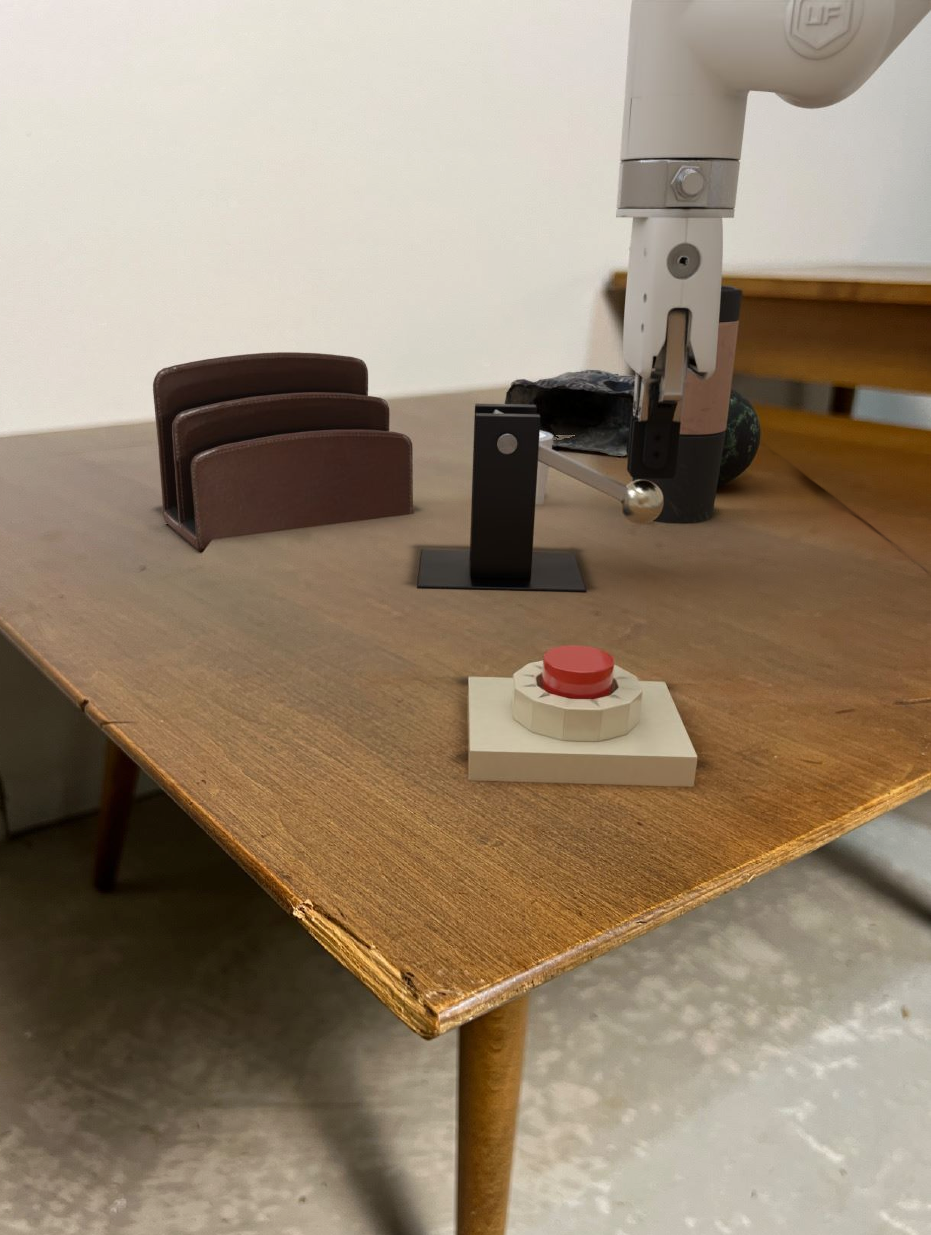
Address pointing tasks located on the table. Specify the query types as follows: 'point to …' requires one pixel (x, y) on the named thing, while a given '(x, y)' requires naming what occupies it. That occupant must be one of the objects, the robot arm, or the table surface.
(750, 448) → the decorative stone
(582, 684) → the button
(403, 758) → the table surface
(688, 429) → the travel mug
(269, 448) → the letter holder
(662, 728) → the button block
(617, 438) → the sculpture
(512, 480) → the bracket
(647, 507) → the lever
